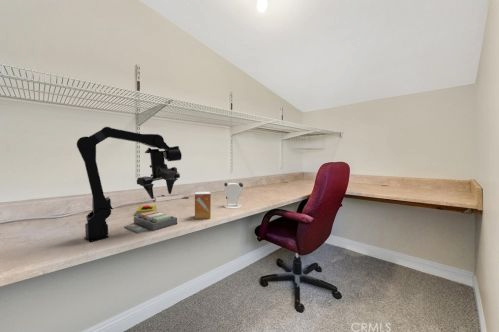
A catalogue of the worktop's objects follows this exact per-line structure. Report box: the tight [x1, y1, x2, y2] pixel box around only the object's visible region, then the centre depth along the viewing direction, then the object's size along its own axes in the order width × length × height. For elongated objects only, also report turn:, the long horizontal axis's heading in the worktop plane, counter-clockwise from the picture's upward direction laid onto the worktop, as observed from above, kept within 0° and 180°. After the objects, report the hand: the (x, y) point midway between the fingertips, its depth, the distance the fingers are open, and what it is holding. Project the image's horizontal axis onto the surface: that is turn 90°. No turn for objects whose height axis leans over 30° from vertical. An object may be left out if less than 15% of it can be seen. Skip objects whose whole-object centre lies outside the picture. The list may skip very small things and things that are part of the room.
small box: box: [194, 191, 212, 220], centre depth 117 cm, size 8×6×13 cm
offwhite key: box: [146, 212, 165, 221], centre depth 106 cm, size 7×4×2 cm, turn 144°
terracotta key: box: [140, 211, 159, 218], centre depth 109 cm, size 7×4×2 cm, turn 144°
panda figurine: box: [223, 182, 244, 209], centre depth 141 cm, size 12×11×15 cm
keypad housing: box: [133, 211, 178, 232], centre depth 106 cm, size 12×17×3 cm
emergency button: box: [135, 205, 158, 217], centre depth 125 cm, size 9×4×15 cm
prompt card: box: [124, 223, 148, 234], centre depth 98 cm, size 4×12×1 cm, turn 53°
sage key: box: [152, 214, 172, 223], centre depth 103 cm, size 7×4×2 cm, turn 144°
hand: (161, 196), depth 102 cm, fingers open, 9 cm apart
